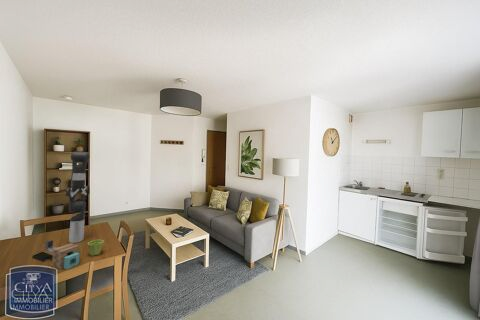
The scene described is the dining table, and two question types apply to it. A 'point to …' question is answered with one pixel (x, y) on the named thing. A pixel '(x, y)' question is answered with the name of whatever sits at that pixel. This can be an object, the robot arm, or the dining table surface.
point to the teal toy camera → (74, 263)
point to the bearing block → (63, 254)
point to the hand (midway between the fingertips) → (77, 201)
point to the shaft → (50, 246)
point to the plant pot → (95, 247)
